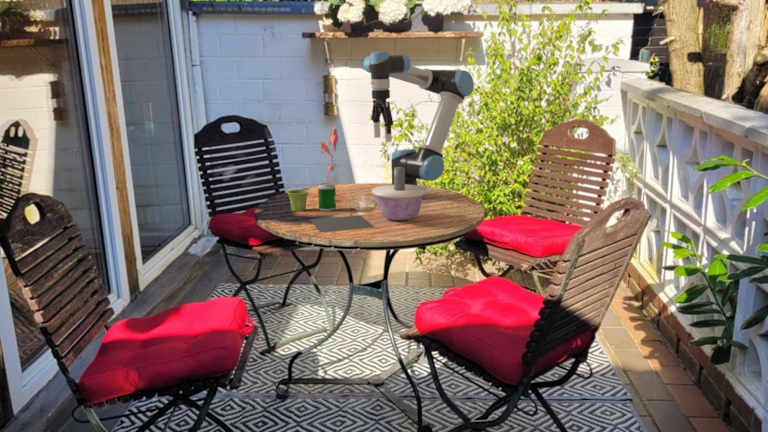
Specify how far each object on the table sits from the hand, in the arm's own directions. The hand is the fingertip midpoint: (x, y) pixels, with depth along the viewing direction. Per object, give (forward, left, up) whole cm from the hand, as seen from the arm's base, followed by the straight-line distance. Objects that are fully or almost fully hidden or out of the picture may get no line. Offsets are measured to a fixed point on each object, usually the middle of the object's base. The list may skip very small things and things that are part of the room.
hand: (382, 139), depth 304 cm
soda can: (+23, -10, -32) cm, 41 cm away
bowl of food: (-2, +17, -32) cm, 36 cm away
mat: (+23, +17, -32) cm, 42 cm away
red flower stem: (+13, -34, -32) cm, 49 cm away
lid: (-2, +17, -20) cm, 26 cm away
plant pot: (+35, -15, -32) cm, 50 cm away
